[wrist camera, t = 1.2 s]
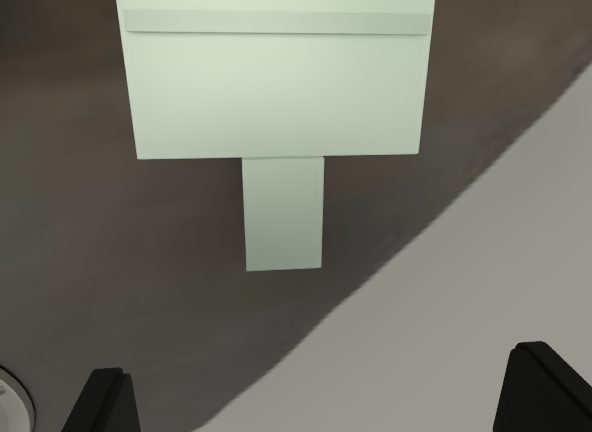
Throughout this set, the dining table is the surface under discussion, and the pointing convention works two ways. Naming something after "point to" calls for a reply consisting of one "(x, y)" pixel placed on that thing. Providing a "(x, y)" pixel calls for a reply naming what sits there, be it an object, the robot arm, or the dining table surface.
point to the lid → (276, 98)
